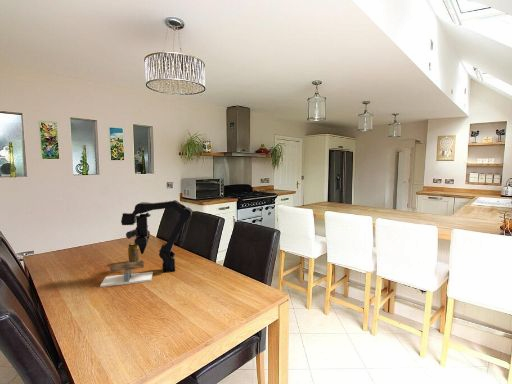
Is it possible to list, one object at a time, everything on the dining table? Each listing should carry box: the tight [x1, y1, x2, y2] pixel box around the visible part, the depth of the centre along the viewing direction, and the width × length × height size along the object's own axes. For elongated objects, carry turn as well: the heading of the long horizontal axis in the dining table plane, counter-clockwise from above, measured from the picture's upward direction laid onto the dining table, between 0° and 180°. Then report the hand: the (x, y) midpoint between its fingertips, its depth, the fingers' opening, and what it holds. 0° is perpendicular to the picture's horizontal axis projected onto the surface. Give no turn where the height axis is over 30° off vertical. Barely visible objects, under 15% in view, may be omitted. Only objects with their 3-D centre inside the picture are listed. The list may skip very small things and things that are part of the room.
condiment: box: [126, 242, 140, 263], centre depth 174 cm, size 7×8×12 cm
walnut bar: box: [109, 260, 145, 273], centre depth 147 cm, size 16×3×3 cm, turn 112°
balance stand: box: [99, 269, 154, 288], centre depth 148 cm, size 24×11×6 cm, turn 106°
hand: (143, 251), depth 158 cm, fingers open, 9 cm apart
